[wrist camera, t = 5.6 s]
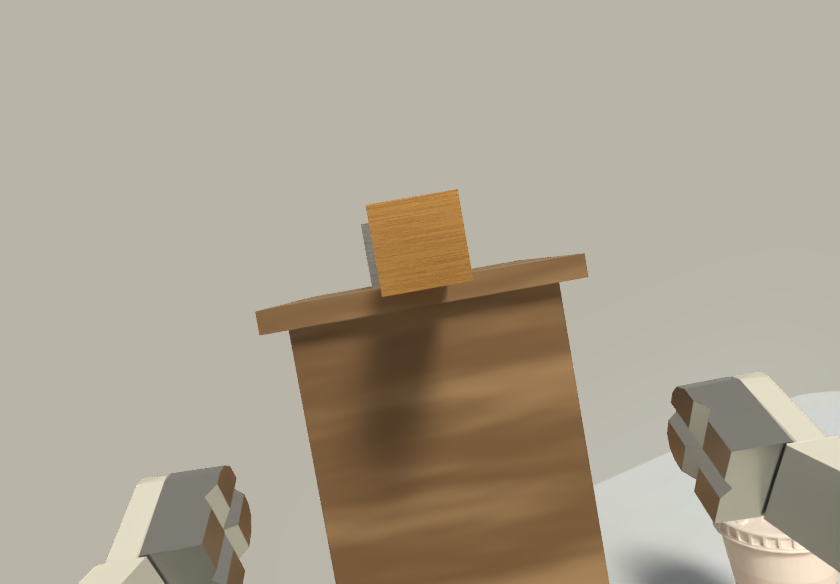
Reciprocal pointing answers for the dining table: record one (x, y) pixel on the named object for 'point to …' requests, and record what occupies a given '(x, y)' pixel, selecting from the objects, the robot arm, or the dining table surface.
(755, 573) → the smoothie
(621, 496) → the dining table surface
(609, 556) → the dining table surface
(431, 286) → the mallet
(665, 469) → the dining table surface
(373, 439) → the stand
